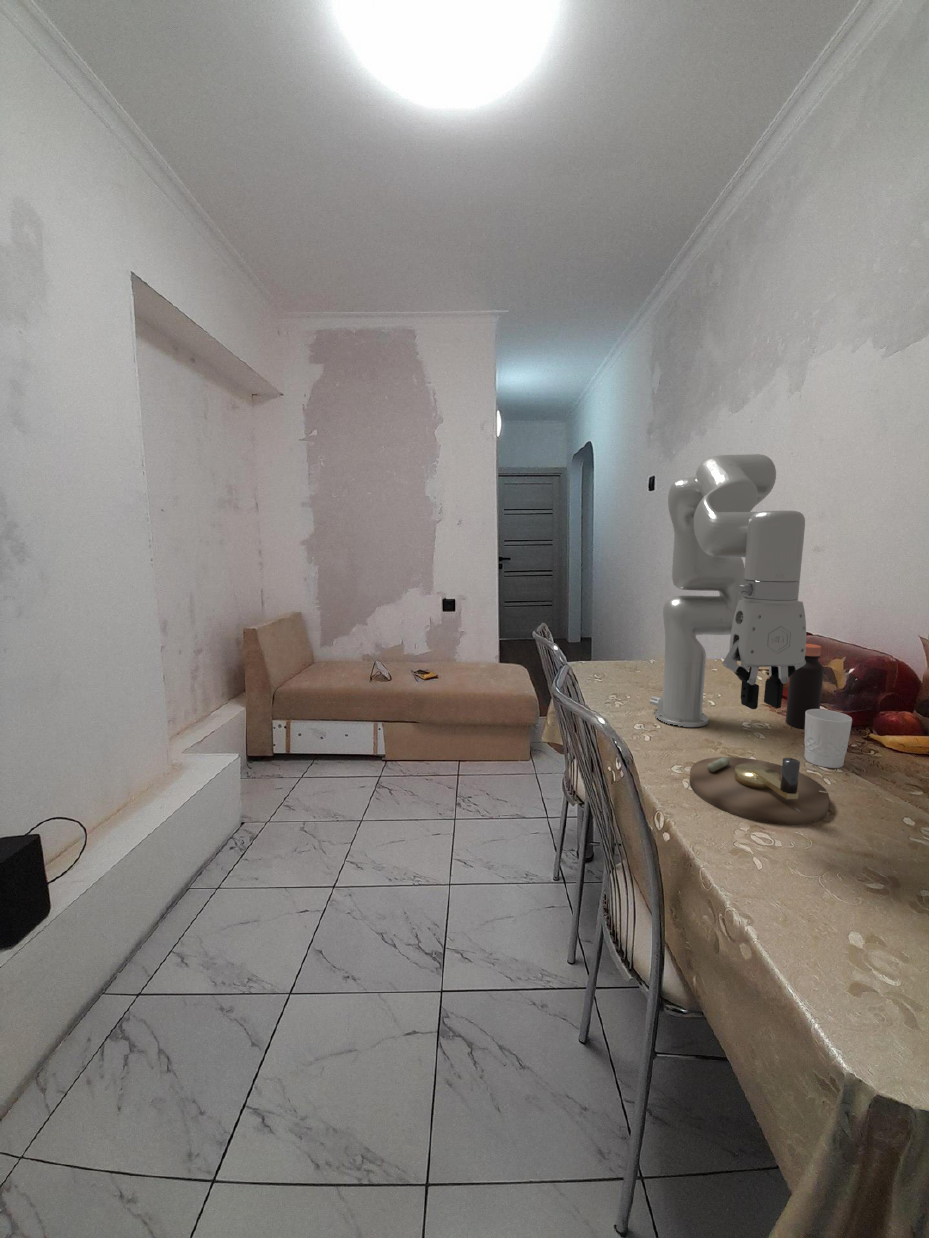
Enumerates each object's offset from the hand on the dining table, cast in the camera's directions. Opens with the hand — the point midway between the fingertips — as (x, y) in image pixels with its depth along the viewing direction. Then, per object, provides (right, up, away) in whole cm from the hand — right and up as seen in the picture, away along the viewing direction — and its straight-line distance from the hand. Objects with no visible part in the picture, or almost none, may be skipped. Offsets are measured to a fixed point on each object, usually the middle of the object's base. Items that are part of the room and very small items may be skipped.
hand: (760, 705), depth 85 cm
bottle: (+36, -13, +46) cm, 59 cm away
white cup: (+27, -16, +24) cm, 40 cm away
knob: (+6, -16, +8) cm, 19 cm away
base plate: (+5, -18, +11) cm, 22 cm away
